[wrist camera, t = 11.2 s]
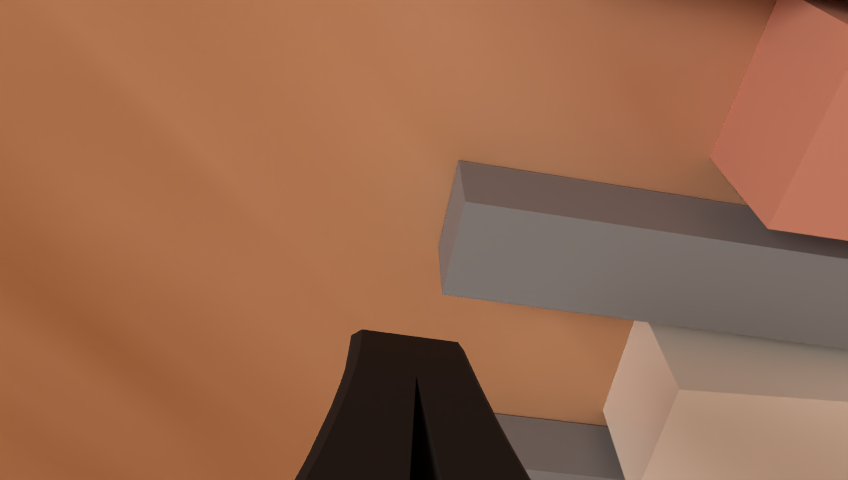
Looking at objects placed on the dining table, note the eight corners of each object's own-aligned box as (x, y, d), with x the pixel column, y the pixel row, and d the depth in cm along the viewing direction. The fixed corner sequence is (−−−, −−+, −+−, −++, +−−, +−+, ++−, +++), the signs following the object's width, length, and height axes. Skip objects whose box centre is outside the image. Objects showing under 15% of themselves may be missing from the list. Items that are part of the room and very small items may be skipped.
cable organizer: (853, 482, 24) (897, 550, 22) (395, 431, 22) (394, 500, 20) (1216, -9, 16) (1343, 24, 14) (532, -155, 14) (556, -144, 12)
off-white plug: (849, 422, 23) (916, 518, 20) (601, 405, 22) (632, 501, 19) (909, 322, 21) (994, 412, 18) (637, 299, 20) (679, 389, 17)
